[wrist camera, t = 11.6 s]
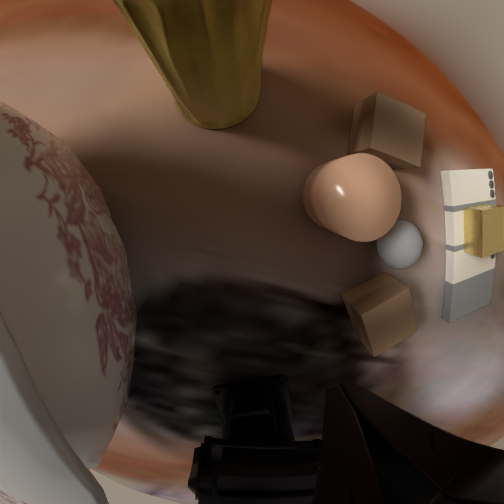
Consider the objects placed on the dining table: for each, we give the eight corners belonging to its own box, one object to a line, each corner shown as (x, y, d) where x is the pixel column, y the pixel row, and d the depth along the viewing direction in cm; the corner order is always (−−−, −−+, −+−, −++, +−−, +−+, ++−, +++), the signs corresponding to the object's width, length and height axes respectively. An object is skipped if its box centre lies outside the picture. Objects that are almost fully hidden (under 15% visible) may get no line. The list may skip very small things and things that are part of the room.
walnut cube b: (391, 170, 19) (420, 167, 15) (346, 154, 19) (370, 147, 15) (397, 123, 18) (425, 114, 14) (353, 106, 18) (377, 91, 14)
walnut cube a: (393, 310, 22) (417, 330, 18) (354, 332, 22) (374, 357, 18) (383, 271, 21) (409, 287, 17) (341, 294, 21) (361, 315, 17)
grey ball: (406, 257, 21) (432, 268, 17) (370, 266, 20) (392, 279, 17) (404, 214, 20) (430, 219, 16) (366, 220, 20) (390, 226, 16)
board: (484, 299, 22) (491, 303, 21) (442, 318, 22) (449, 323, 21) (484, 168, 19) (493, 168, 18) (440, 170, 19) (449, 170, 18)
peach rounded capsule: (370, 223, 20) (405, 233, 15) (308, 235, 20) (330, 249, 15) (360, 158, 19) (394, 150, 14) (296, 165, 19) (316, 157, 14)
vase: (277, 96, 18) (345, -45, 4) (210, 147, 18) (145, 45, 4) (224, 42, 16) (213, -106, 2) (158, 90, 17) (58, -28, 3)
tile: (487, 244, 20) (505, 249, 17) (464, 252, 19) (482, 258, 17) (487, 203, 19) (505, 205, 16) (463, 207, 19) (482, 210, 16)
